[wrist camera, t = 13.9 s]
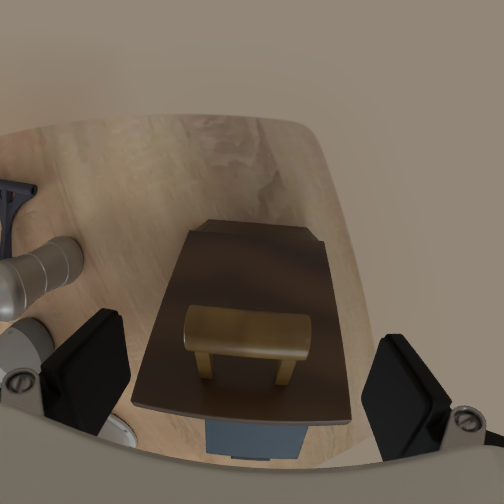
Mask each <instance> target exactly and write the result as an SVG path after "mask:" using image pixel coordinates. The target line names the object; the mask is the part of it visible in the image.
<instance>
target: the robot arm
mask: <svg viewBox="0 0 504 504" xmlns="http://www.w3.org/2000/svg"><path fill="white" fill-rule="evenodd" d="M40 368H41V372H40V373H39V374H38V373H37V372H36V371H35V370H33V369H30V368H17V369H14V370H12V371H10V372H8V373H7V374H6V375H5V376H4V378H3V380H2V384H1V388H0V504H504V436H501V435H499V434H496V433H493V432H490V431H487V430H486V420H485V418H484V416H483V415H482V414H481V412H479V411H478V410H477V409H475V408H473V407H470V406H458V407H456V408H454V409H453V410H452V409H451V408H450V405H451V403H452V401H451V399H450V397H449V396H448V395H447V394H446V392H445V390H444V389H443V388H442V386H441V385H440V384H439V382H438V381H437V379H436V378H435V377H434V375H433V374H432V373H431V371H430V370H429V369H428V367H427V366H426V365H425V363H424V362H423V361H422V359H421V358H420V357H419V355H418V354H417V353H416V351H415V350H414V349H413V348H412V347H411V345H410V344H409V342H408V341H407V340H406V339H405V337H404V336H403V335H402V334H387V335H386V336H385V337H384V338H381V340H380V342H379V345H378V349H377V352H376V355H375V358H374V361H373V364H372V367H371V370H370V373H369V375H368V378H367V381H366V384H365V386H364V389H363V392H362V395H361V401H362V405H363V407H364V410H365V412H366V415H367V418H368V421H369V423H370V426H371V429H372V431H373V434H374V437H375V440H376V442H377V445H378V448H379V451H380V454H381V457H382V460H383V462H378V463H371V464H363V465H355V466H345V467H334V468H317V469H266V468H248V467H236V466H226V465H217V464H210V463H203V462H196V461H190V460H185V459H179V458H174V457H169V456H164V455H160V454H155V453H151V452H147V451H143V450H139V449H136V448H135V447H136V445H137V438H136V436H135V434H134V432H133V431H132V430H131V428H130V427H129V426H128V425H127V424H126V423H124V422H123V421H122V420H121V419H119V418H118V417H116V416H114V415H113V414H111V412H112V410H113V408H114V407H115V405H116V403H117V402H118V400H119V398H120V397H121V395H122V393H123V392H124V390H125V388H126V387H127V385H128V383H129V381H130V378H131V372H130V367H129V361H128V355H127V349H126V342H125V335H124V327H123V320H122V316H121V315H119V314H118V312H117V311H116V310H110V309H105V308H102V309H100V310H99V311H98V312H97V313H96V314H95V315H94V316H92V317H91V318H90V319H89V320H88V321H87V322H86V323H85V324H84V325H83V326H81V327H80V328H79V329H78V330H77V331H76V332H75V333H74V334H73V335H72V336H71V337H69V338H68V339H67V340H66V341H65V342H64V343H63V344H62V345H61V346H60V347H59V348H58V349H57V350H56V351H55V352H54V353H53V354H51V355H50V356H49V357H48V358H47V359H46V360H45V361H44V362H43V363H42V364H41V365H40Z"/></svg>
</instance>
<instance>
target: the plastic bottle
mask: <svg viewBox="0 0 504 504" xmlns="http://www.w3.org/2000/svg"><path fill="white" fill-rule="evenodd" d="M82 268H83V254H82V251H81V249H80V247H79V245H78V244H77V243H76V242H75V241H74V240H73V239H71V238H70V237H67V236H58V237H54V238H52V239H50V240H49V241H47V242H46V243H45V244H44V245H42V246H40V247H39V248H37V249H35V250H33V251H31V252H29V253H26V254H23V255H20V256H17V257H13V258H8V259H3V260H0V321H5V322H8V321H13V320H16V319H17V318H18V317H19V316H21V314H22V313H24V311H25V310H26V309H27V308H28V307H29V306H30V305H31V304H32V303H34V302H35V301H36V300H37V299H39V298H40V297H41V296H43V295H44V294H45V293H47V292H49V291H51V290H53V289H56V288H58V287H61V286H65V285H68V284H70V283H72V282H74V280H75V279H76V278H77V277H78V276H79V275H80V273H81V271H82Z"/></svg>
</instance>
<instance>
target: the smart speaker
mask: <svg viewBox="0 0 504 504" xmlns="http://www.w3.org/2000/svg"><path fill="white" fill-rule="evenodd" d="M53 353H54V346H53V342H52V339H51V336H50V335H49V333H48V331H47V330H46V328H45V327H44V326H43V325H42V324H41V323H39V322H38V321H37V320H35V319H32V318H24V319H21V320H18V321H17V322H15V323H14V324H12V325H11V326H10V327H9V328H7V329H6V330H5V331H4V332H3V333H2V334H1V335H0V382H1V383H2V380H3V378H4V376H5V375H6V374H7V373H8V372H10V371H12V370H14V369H17V368H30V369H33V370H35V371H36V372H37V373H39V372H40V371H41V368H40V365H41V364H42V363H43V362H44V361H45V360H46V359H47V358H48V357H49V356H50V355H51V354H53Z"/></svg>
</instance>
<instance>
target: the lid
mask: <svg viewBox="0 0 504 504" xmlns="http://www.w3.org/2000/svg"><path fill="white" fill-rule="evenodd" d="M131 402H132V403H133V405H134V406H137V407H141V408H146V409H150V410H155V411H159V412H164V413H170V414H175V415H180V416H186V417H193V418H199V419H206V420H214V421H222V422H232V423H242V424H256V425H275V426H327V425H346V424H348V423H349V422H350V421H351V420H352V417H351V407H350V397H349V388H348V380H347V372H346V364H345V357H344V350H343V343H342V336H341V330H340V324H339V317H338V312H337V306H336V300H335V294H334V289H333V284H332V278H331V273H330V268H329V263H328V258H327V254H326V249H325V244H324V242H323V241H313V240H302V239H291V238H280V237H268V236H257V235H245V234H232V233H220V232H207V231H194V230H189V232H188V235H187V237H186V240H185V242H184V245H183V247H182V250H181V252H180V255H179V257H178V260H177V263H176V265H175V268H174V271H173V273H172V276H171V279H170V281H169V284H168V287H167V289H166V292H165V295H164V298H163V300H162V303H161V306H160V309H159V312H158V315H157V318H156V320H155V323H154V326H153V329H152V332H151V335H150V338H149V341H148V344H147V347H146V351H145V354H144V357H143V360H142V363H141V366H140V370H139V373H138V376H137V380H136V383H135V386H134V390H133V393H132V397H131Z"/></svg>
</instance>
